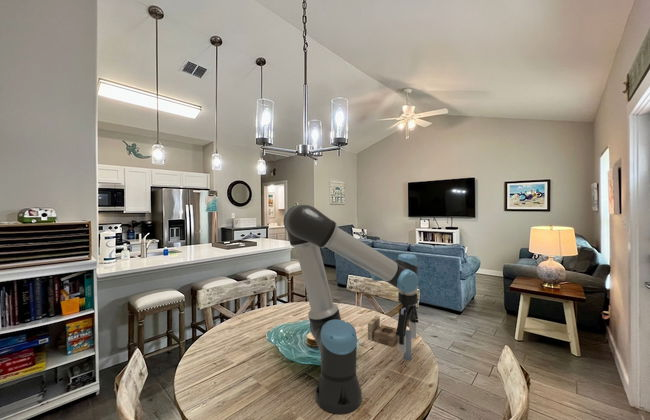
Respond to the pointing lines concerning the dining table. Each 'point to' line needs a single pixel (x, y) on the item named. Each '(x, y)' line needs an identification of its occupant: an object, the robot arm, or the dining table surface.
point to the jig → (373, 327)
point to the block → (386, 335)
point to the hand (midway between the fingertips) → (407, 344)
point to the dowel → (408, 345)
